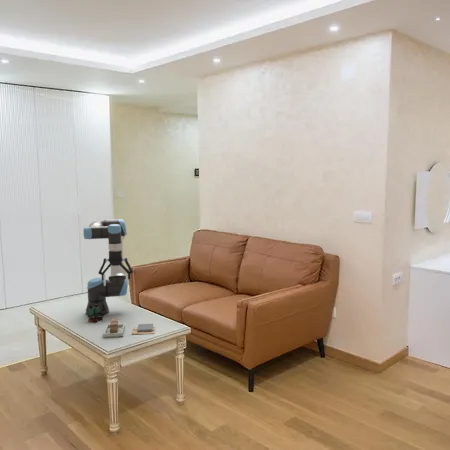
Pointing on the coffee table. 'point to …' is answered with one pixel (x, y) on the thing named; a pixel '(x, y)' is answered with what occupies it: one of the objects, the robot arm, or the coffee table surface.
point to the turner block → (114, 326)
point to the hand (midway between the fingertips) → (116, 284)
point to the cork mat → (142, 332)
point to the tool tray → (120, 333)
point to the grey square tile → (144, 327)
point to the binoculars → (94, 313)
